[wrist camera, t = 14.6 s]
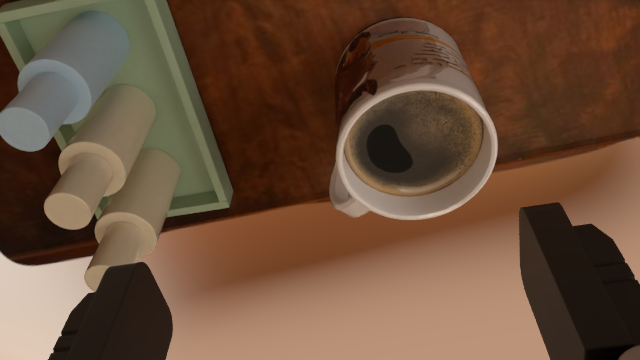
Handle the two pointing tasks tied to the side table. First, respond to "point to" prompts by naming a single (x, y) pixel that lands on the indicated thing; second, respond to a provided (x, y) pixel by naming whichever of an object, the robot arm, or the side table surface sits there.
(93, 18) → the blue bottle
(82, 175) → the cream bottle
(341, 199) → the mug
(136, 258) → the cream bottle
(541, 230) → the robot arm
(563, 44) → the side table surface
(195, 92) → the tray
